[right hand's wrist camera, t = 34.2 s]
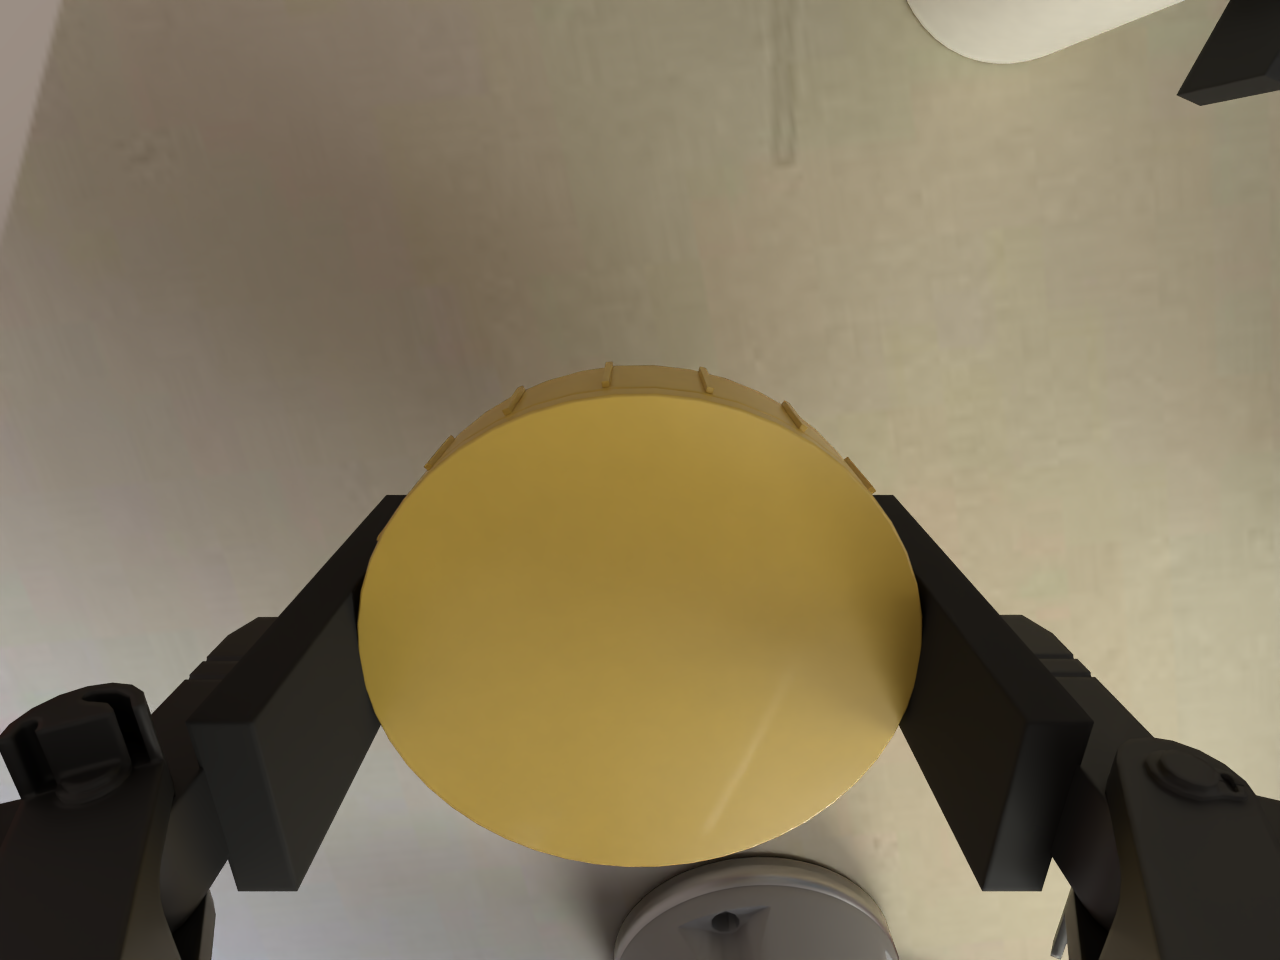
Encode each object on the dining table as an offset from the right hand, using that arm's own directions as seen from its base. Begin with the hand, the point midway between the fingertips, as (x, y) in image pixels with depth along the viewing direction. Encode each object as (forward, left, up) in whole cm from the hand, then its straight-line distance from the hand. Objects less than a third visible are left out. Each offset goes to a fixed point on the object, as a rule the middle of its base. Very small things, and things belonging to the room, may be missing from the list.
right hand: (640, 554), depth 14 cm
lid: (0, 0, +3) cm, 3 cm away
